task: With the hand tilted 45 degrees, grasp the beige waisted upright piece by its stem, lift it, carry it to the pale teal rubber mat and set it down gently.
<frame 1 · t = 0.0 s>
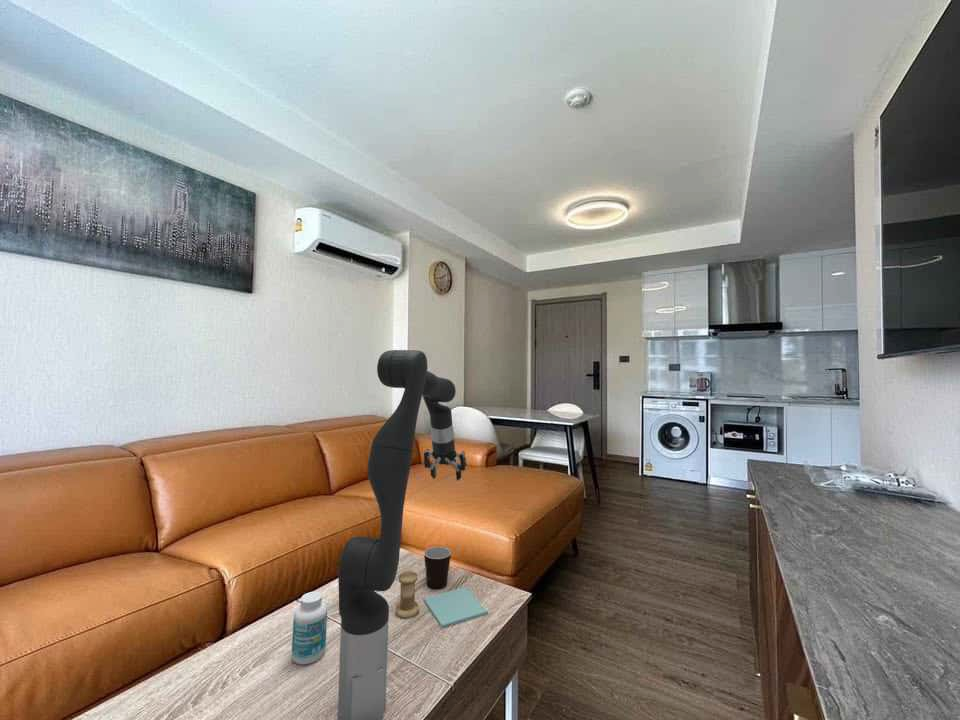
hand: (446, 478, 135), 31 cm above the table, tool tilted 20°, fingers open, 8 cm apart
pill bottle: (308, 655, 93), on the table
coffee mug: (438, 582, 127), on the table
beige waisted upright piece: (407, 611, 110), on the table
mat: (454, 607, 113), on the table
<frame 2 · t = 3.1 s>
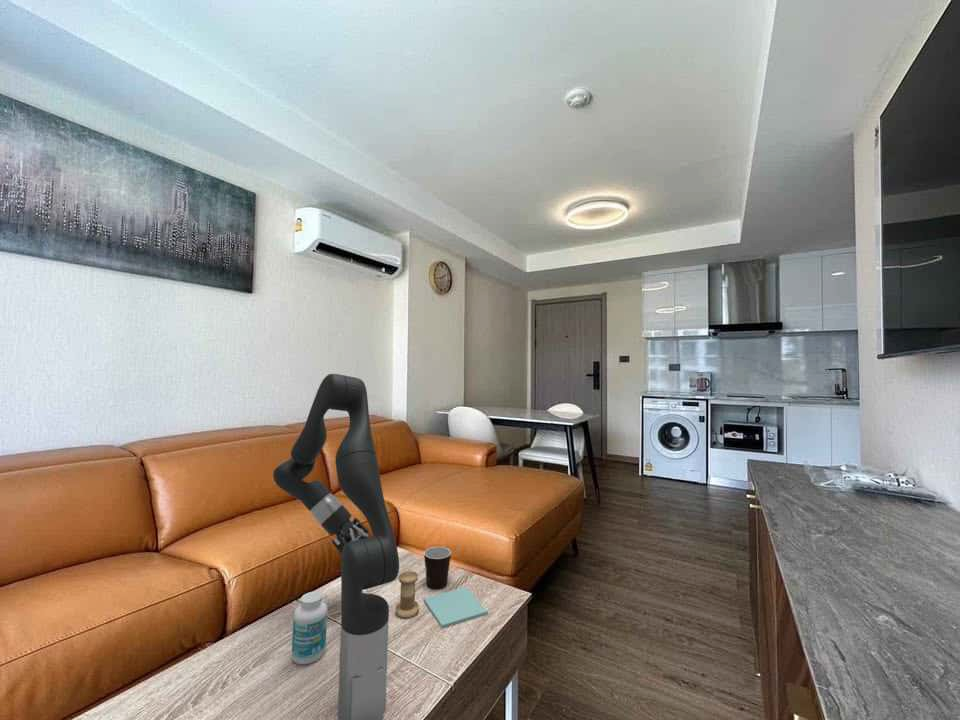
hand: (368, 556, 111), 15 cm above the table, tool tilted 45°, fingers open, 8 cm apart
nothing on the table moved.
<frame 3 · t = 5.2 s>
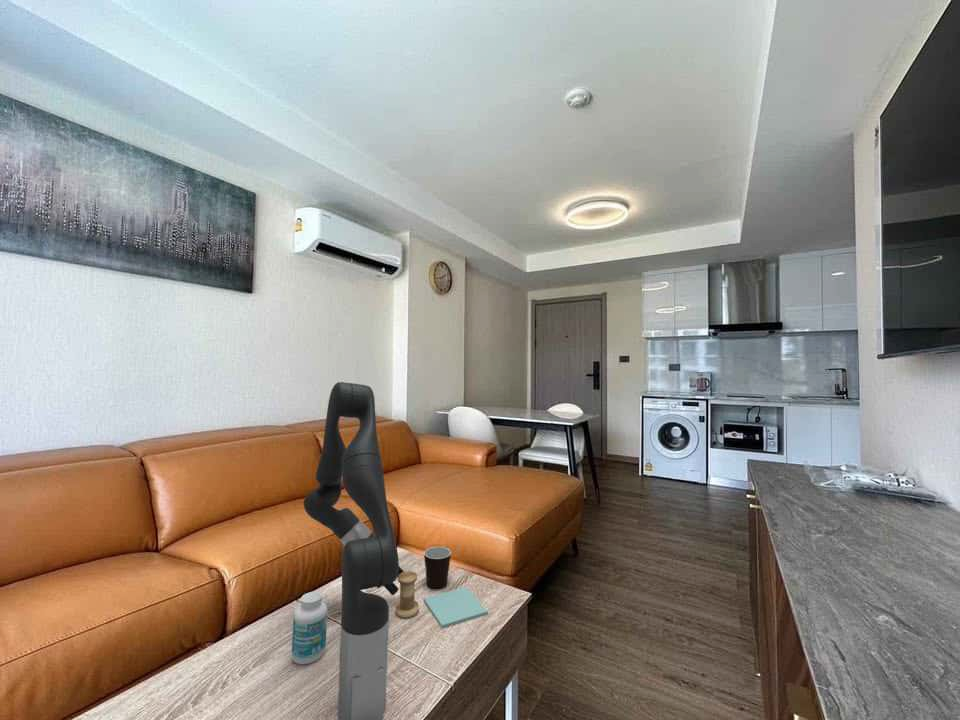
hand: (399, 584, 111), 8 cm above the table, tool tilted 45°, fingers open, 8 cm apart
nothing on the table moved.
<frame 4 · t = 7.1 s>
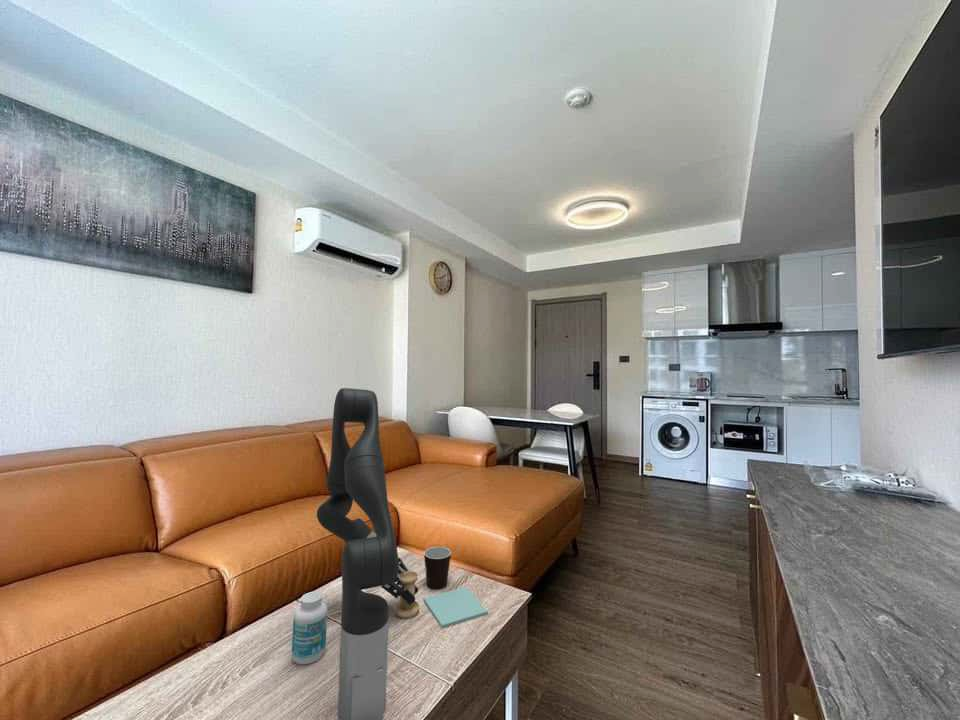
hand: (414, 597, 110), 4 cm above the table, tool tilted 45°, fingers closed on beige waisted upright piece, 4 cm apart
beige waisted upright piece: (407, 611, 110), on the table, touching gripper
everything else where it was.
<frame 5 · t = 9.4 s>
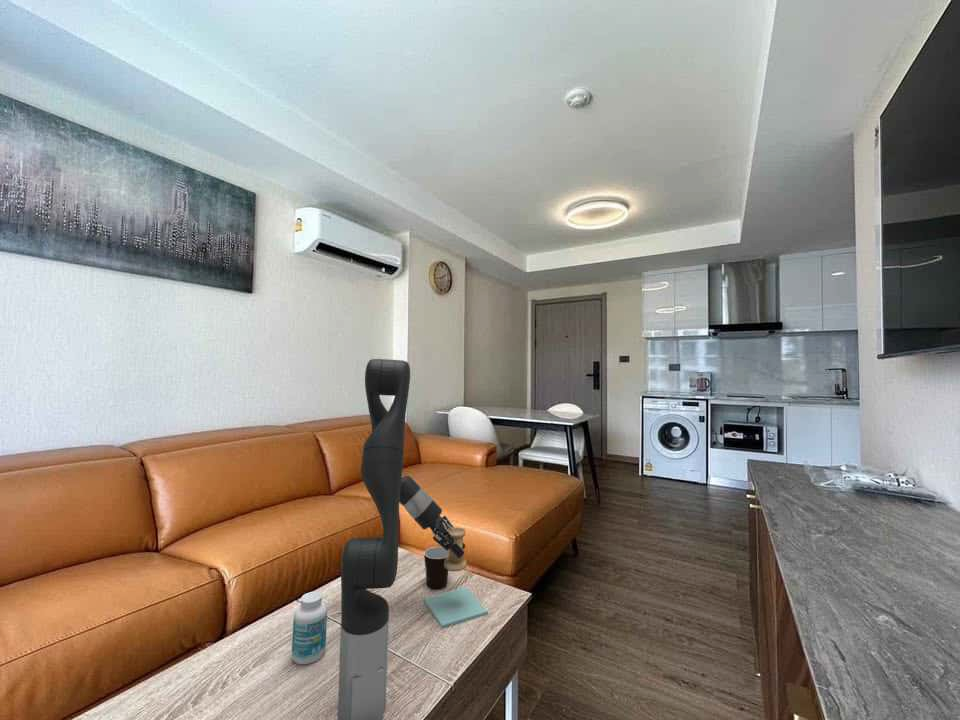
hand: (462, 551, 114), 16 cm above the table, tool tilted 45°, fingers closed on beige waisted upright piece, 4 cm apart
beige waisted upright piece: (455, 565, 113), point 12 cm above the table, touching gripper
everything else where it was.
when the fingers open (6 cm above the table, at t = 12.0 s): beige waisted upright piece drops 1 cm, resting on mat.
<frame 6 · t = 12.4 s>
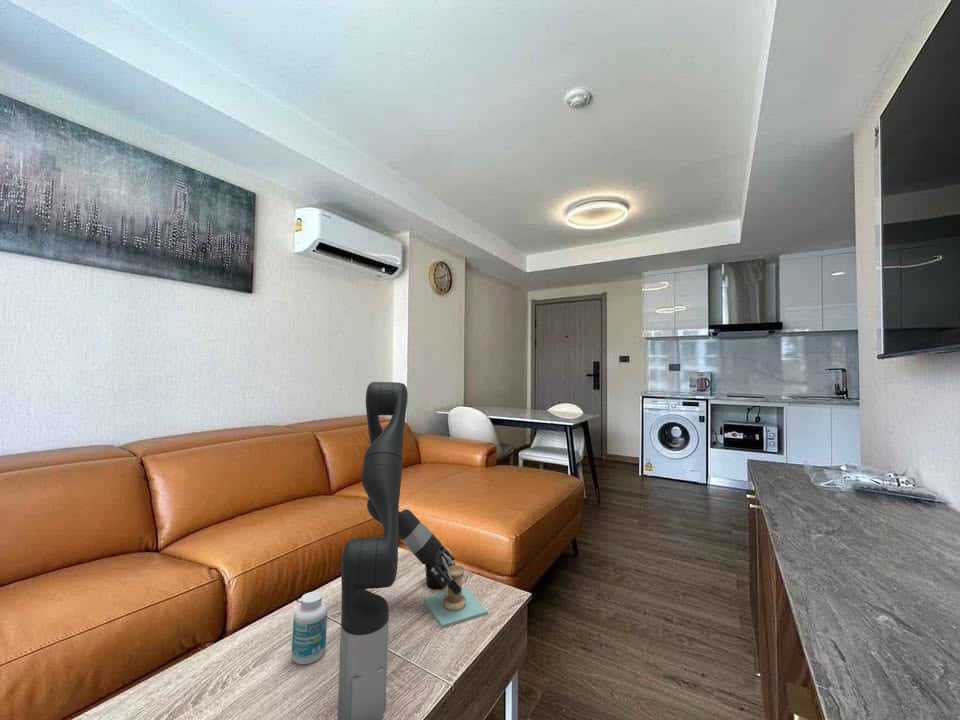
hand: (460, 584, 113), 7 cm above the table, tool tilted 45°, fingers open, 8 cm apart
beige waisted upright piece: (454, 604, 113), point 1 cm above the table, touching mat
everything else where it was.
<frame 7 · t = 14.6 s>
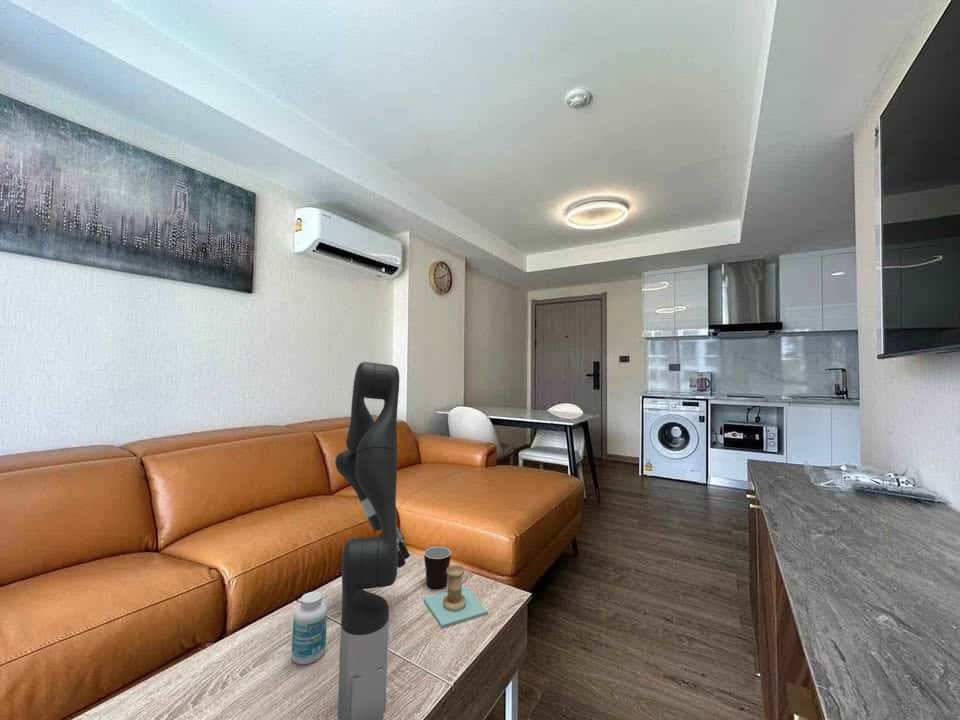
hand: (404, 561, 111), 14 cm above the table, tool tilted 35°, fingers open, 8 cm apart
nothing on the table moved.
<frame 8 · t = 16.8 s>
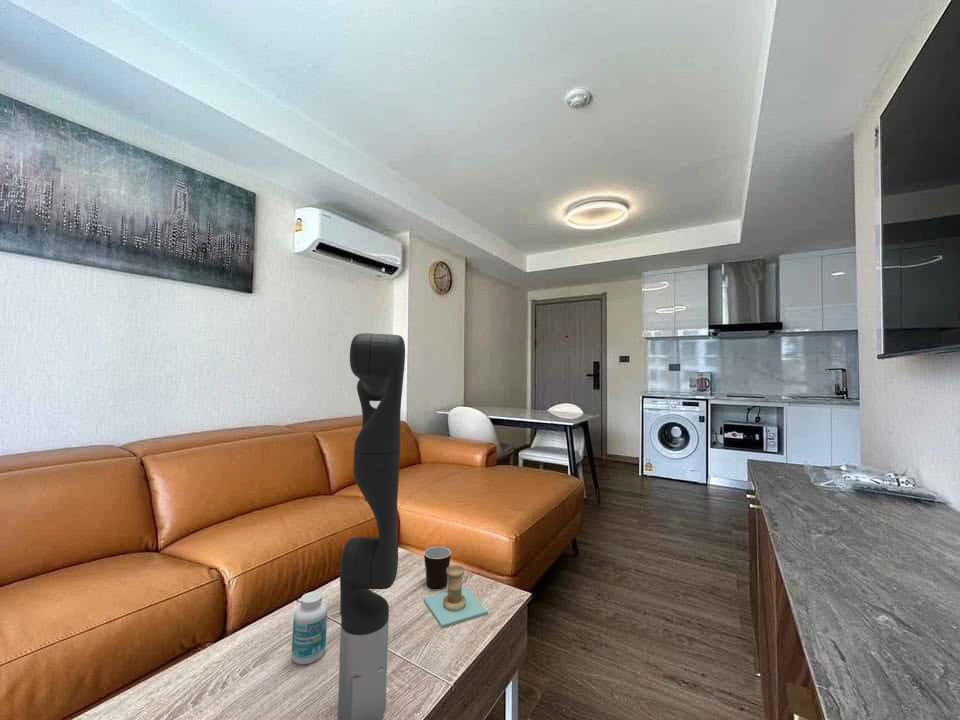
hand: (372, 505, 109), 30 cm above the table, tool pointing down, fingers open, 8 cm apart
nothing on the table moved.
at the end: beige waisted upright piece inside the target area on the mat (0.2 cm from its centre), point 0.8 cm above the mat's base; beige waisted upright piece tilted 0°; the gripper is holding nothing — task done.
